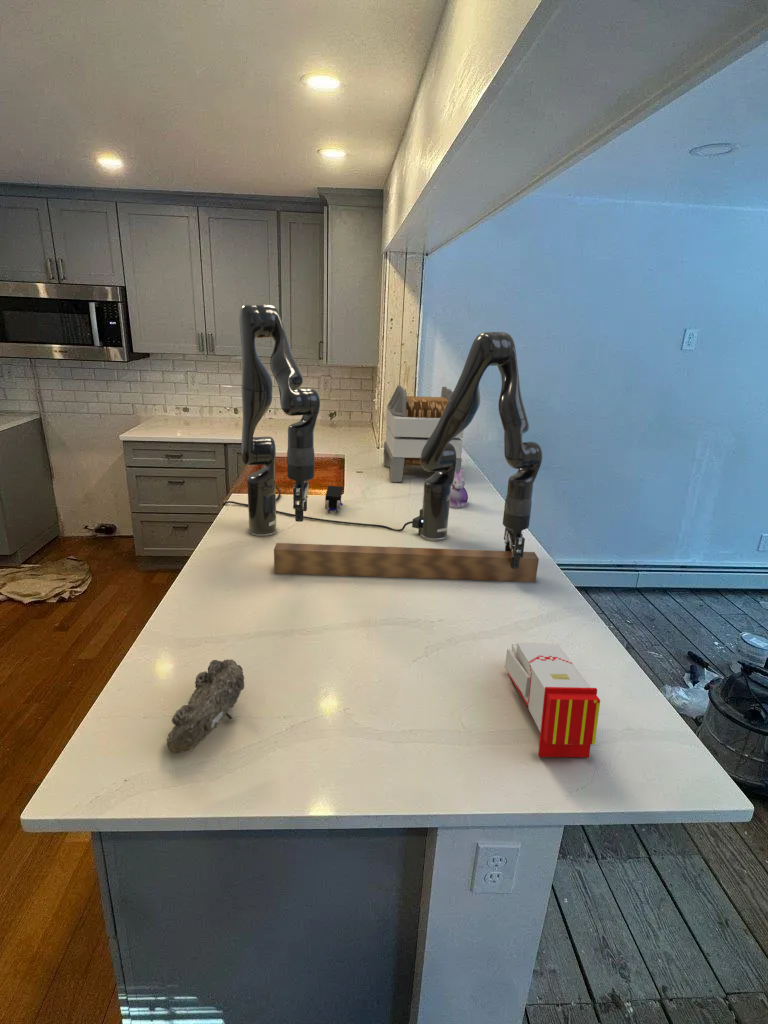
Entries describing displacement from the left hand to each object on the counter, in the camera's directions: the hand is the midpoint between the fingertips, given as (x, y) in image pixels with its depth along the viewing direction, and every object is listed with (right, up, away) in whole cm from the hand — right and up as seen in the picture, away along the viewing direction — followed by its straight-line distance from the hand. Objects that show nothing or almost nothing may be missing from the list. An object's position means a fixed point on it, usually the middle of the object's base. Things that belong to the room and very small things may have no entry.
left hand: (301, 515), depth 163 cm
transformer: (+41, +20, +112) cm, 121 cm away
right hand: (+62, -14, +5) cm, 63 cm away
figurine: (+54, +4, +69) cm, 88 cm away
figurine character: (+4, +2, +58) cm, 58 cm away
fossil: (-9, -38, -55) cm, 68 cm away
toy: (+56, -39, -49) cm, 83 cm away
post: (+30, -18, +7) cm, 36 cm away
